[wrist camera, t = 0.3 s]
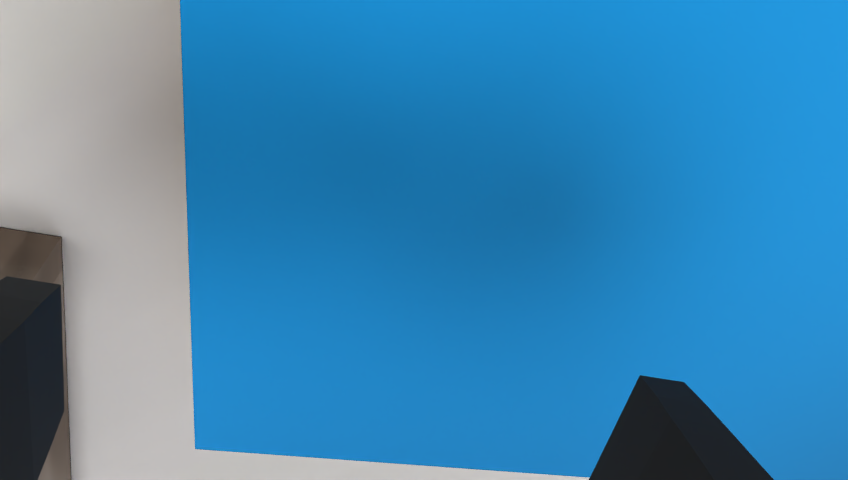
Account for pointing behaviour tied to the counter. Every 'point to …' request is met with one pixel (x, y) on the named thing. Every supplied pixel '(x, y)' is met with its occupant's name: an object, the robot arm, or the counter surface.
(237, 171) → the book
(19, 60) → the counter surface
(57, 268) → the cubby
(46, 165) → the counter surface
